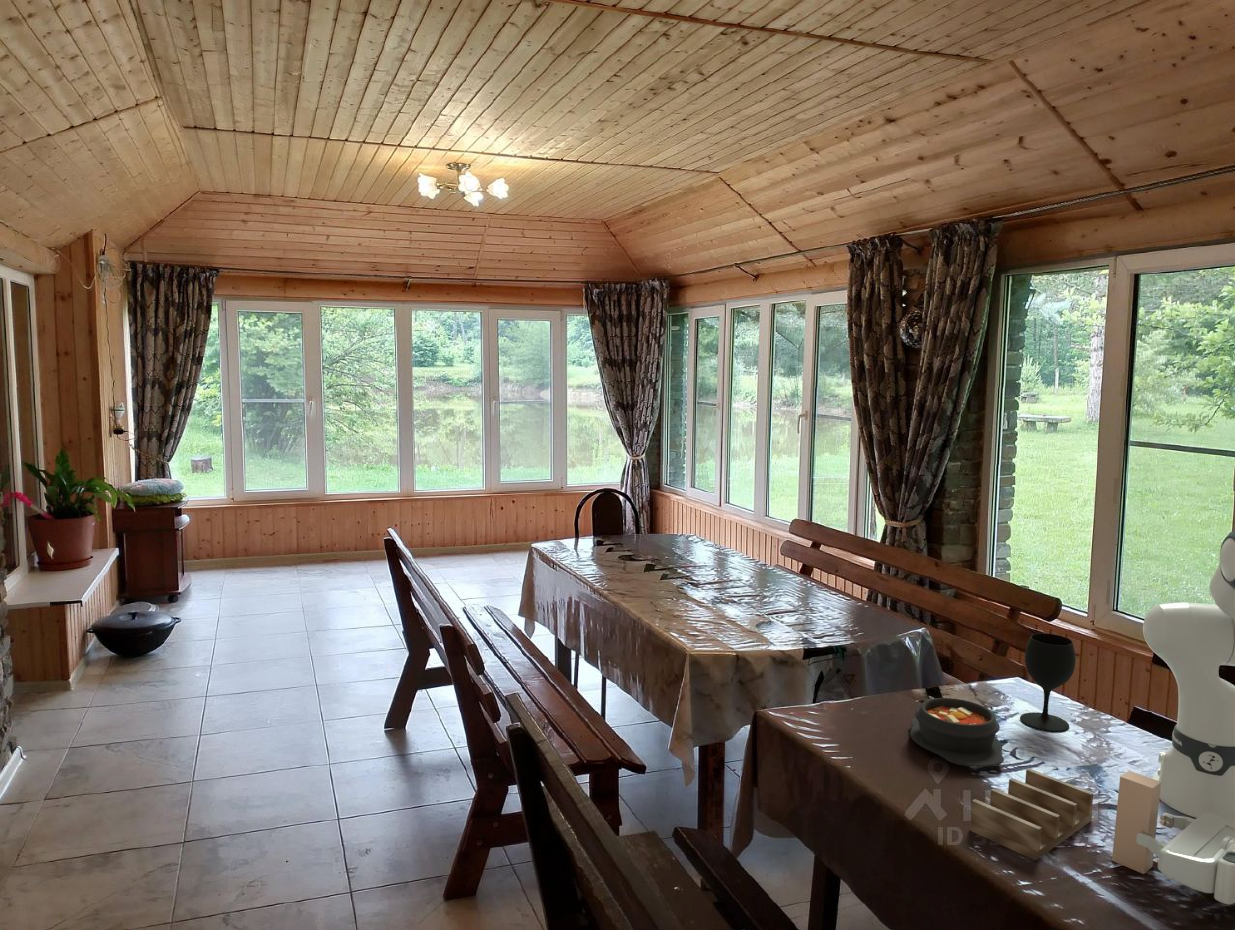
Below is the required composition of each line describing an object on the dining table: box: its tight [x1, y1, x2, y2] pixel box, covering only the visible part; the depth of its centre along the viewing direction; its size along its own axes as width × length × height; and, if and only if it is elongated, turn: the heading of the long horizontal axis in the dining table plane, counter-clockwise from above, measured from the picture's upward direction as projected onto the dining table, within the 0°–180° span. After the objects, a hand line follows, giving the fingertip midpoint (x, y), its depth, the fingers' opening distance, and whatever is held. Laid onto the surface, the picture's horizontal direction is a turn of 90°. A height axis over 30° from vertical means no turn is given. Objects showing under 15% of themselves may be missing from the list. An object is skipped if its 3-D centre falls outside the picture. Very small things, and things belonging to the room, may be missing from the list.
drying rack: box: [969, 767, 1094, 861], centre depth 163 cm, size 12×21×6 cm, turn 129°
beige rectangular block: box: [1111, 770, 1161, 875], centre depth 151 cm, size 5×4×15 cm
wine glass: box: [1019, 632, 1077, 733], centre depth 207 cm, size 10×10×20 cm
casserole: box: [909, 697, 1005, 768], centre depth 194 cm, size 25×19×8 cm
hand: (1150, 826), depth 149 cm, fingers open, 8 cm apart
